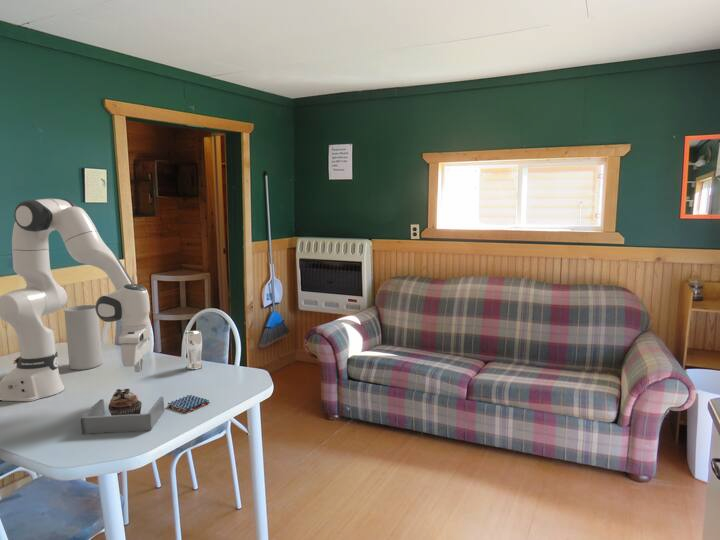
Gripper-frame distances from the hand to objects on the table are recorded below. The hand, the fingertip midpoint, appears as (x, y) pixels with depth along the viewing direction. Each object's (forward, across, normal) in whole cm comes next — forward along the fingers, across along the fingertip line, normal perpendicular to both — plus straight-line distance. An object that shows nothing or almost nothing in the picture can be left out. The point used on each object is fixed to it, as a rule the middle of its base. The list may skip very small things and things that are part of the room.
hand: (138, 371), depth 183 cm
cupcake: (+11, +16, +1) cm, 19 cm away
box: (+11, +18, +1) cm, 21 cm away
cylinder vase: (+12, -45, -36) cm, 59 cm away
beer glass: (+11, -36, +11) cm, 39 cm away
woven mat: (+11, +6, +18) cm, 22 cm away
